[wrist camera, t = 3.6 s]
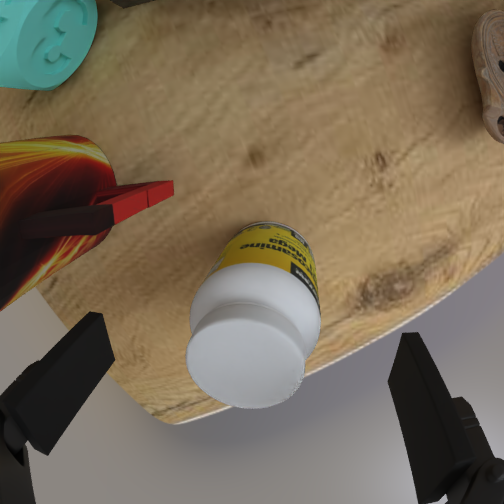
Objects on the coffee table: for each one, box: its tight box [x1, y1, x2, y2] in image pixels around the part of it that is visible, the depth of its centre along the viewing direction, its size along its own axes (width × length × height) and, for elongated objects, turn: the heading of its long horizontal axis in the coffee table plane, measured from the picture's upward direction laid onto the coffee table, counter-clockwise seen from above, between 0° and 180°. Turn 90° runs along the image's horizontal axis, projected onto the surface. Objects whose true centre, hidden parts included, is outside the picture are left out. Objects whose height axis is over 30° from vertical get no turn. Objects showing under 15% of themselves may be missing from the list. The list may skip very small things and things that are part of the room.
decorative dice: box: [0, 0, 97, 91], centre depth 14 cm, size 8×8×8 cm
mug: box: [0, 135, 174, 311], centre depth 16 cm, size 10×14×12 cm
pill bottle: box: [186, 221, 321, 409], centre depth 17 cm, size 6×6×11 cm
